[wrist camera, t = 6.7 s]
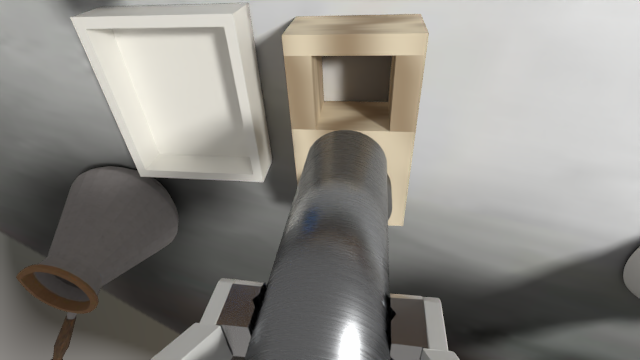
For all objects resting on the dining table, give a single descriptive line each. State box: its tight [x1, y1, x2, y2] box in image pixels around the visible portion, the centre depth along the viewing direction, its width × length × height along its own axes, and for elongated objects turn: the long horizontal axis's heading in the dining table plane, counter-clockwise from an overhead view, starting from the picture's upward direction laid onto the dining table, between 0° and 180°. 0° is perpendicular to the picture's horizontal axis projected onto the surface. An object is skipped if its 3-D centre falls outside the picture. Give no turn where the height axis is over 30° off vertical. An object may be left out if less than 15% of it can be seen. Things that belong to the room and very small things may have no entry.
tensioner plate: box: [282, 14, 429, 226], centre depth 27 cm, size 9×16×8 cm, turn 3°
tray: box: [70, 3, 273, 182], centre depth 29 cm, size 12×14×4 cm
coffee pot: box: [16, 166, 179, 360], centre depth 37 cm, size 21×12×15 cm, turn 155°
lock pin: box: [244, 130, 390, 360], centre depth 13 cm, size 4×4×11 cm
